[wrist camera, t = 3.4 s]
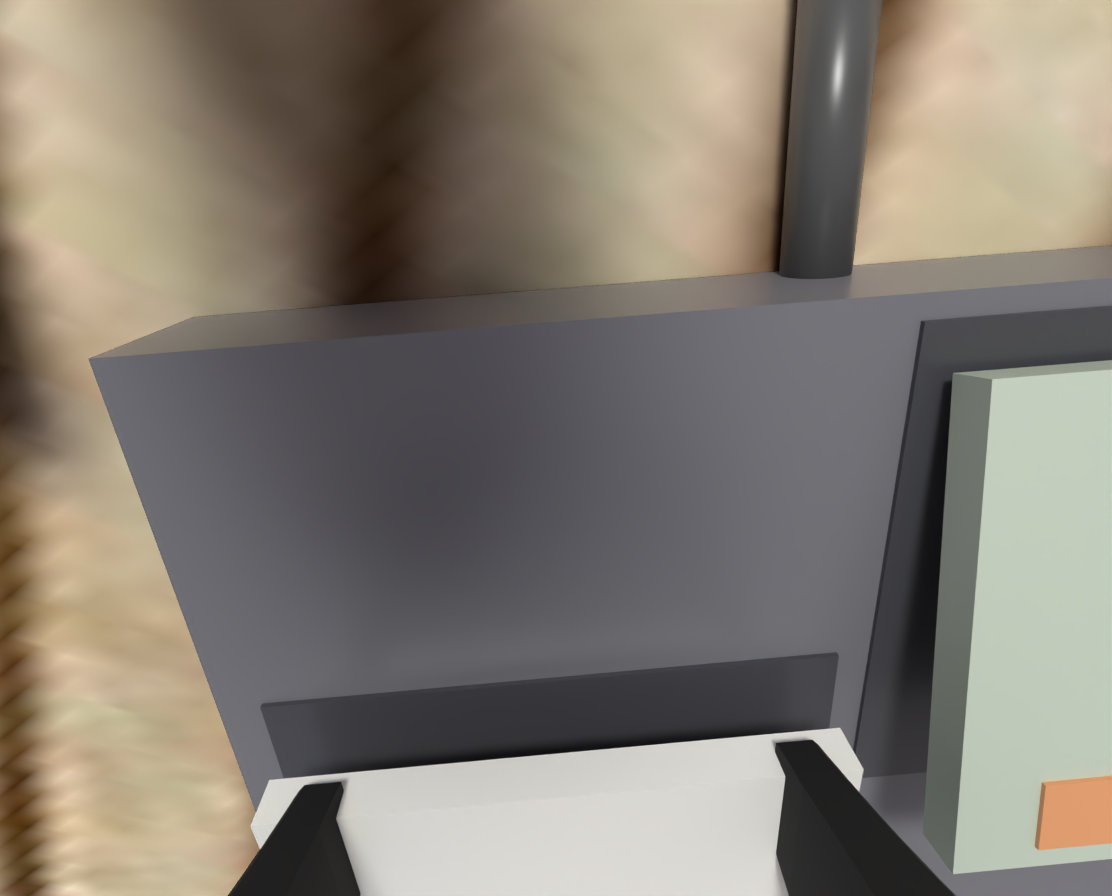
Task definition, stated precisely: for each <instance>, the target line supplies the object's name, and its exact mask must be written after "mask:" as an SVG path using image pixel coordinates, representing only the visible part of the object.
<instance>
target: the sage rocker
mask: <svg viewBox="0 0 1112 896" xmlns="http://www.w3.org/2000/svg"><path fill="white" fill-rule="evenodd" d="M923 834H924V836H925V837H926V839H927V840H928V841H929V843H930V844H931V845H932V847H933V848H934V849H935V851H936V852H937V853H938V855H939V856H940V857H941V859H942V860H943V862H944V863H945V864H946V866H947V867H948V868H949V870H950V871H951V872H952V874H960V873H971V872H981V871H992V870H1002V869H1012V868H1023V867H1033V866H1044V865H1054V864H1064V863H1075V862H1085V861H1096V860H1106V859H1112V360H1107V361H1095V362H1082V363H1070V364H1058V365H1046V366H1033V367H1021V368H1009V369H996V370H984V371H972V372H960V373H953V379H952V394H951V409H950V425H949V440H948V455H947V471H946V486H945V501H944V516H943V532H942V547H941V562H940V577H939V593H938V608H937V623H936V638H935V654H934V669H933V684H932V700H931V715H930V730H929V745H928V761H927V776H926V791H925V806H924V822H923Z"/></svg>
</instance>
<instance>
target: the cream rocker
mask: <svg viewBox="0 0 1112 896" xmlns="http://www.w3.org/2000/svg"><path fill="white" fill-rule="evenodd" d="M802 740H813V741H815V742H816V743H817V744H818V745H819V746H820V747H821V748H822V750H823V751H824V752H825V753H826V754H827V755H828V757H829V758H830V759H831V760H832V761H833V762H834V764H835V765H836V766H837V767H838V768H839V769H840V771H841V772H842V773H843V774H844V775H845V776H846V778H847V779H848V780H849V781H850V782H851V783H852V784H853V786H854V787H855V788H856V789H857V790H858V791H859V790H860V785H861V780H862V775H863V770H864V769H863V767H862V766H861V764H860V762H859V760H858V758H857V757H856V755H855V753H854V751H853V750H852V748H851V746H850V744H849V743H848V741H847V739H846V737H845V735H844V734H843V732H842V730H841V728H831V729H820V730H809V731H798V732H787V733H776V734H765V735H755V736H744V737H733V738H722V739H711V740H700V741H689V742H678V743H667V744H656V745H645V746H634V747H624V748H613V749H602V750H591V751H580V752H569V753H558V754H547V755H536V756H525V757H514V758H503V759H493V760H482V761H471V762H460V763H449V764H438V765H427V766H416V767H405V768H394V769H383V770H372V771H362V772H351V773H340V774H329V775H318V776H307V777H296V778H285V779H274V780H269V782H268V785H267V787H266V789H265V792H264V794H263V797H262V799H261V802H260V804H259V807H258V809H257V812H256V814H255V816H254V819H253V821H252V824H251V829H252V831H253V834H254V836H255V839H256V841H257V843H258V846H259V848H260V849H261V847H262V846H263V844H264V843H265V841H266V840H267V838H268V837H269V835H270V834H271V832H272V831H273V829H274V828H275V826H276V825H277V823H278V822H279V820H280V819H281V817H282V816H283V814H284V813H285V811H286V810H287V808H288V807H289V805H290V804H291V802H292V801H293V799H294V798H295V796H296V795H297V793H298V791H299V790H300V789H301V788H302V787H303V786H304V785H310V784H321V783H333V782H341V783H342V786H343V789H344V792H343V796H342V799H341V803H340V806H339V810H338V813H337V817H336V820H337V823H338V826H339V829H340V832H341V835H342V838H343V841H344V844H345V847H346V850H347V853H348V856H349V860H350V863H351V866H352V869H353V872H354V875H355V878H356V881H357V884H358V887H359V890H360V896H789V895H788V891H787V888H786V885H785V882H784V879H783V875H782V872H781V869H780V866H779V862H778V859H777V855H776V849H777V841H778V833H779V825H780V817H781V809H782V801H783V793H784V785H785V774H784V772H783V770H782V767H781V765H780V763H779V760H778V758H777V756H776V753H775V748H776V743H780V742H791V741H802Z"/></svg>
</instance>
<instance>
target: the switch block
mask: <svg viewBox="0 0 1112 896" xmlns="http://www.w3.org/2000/svg"><path fill="white" fill-rule="evenodd" d="M882 1H883V0H798V4H797V18H796V33H795V48H794V62H793V77H792V92H791V106H790V121H789V136H788V151H787V165H786V180H785V195H784V209H783V224H782V239H781V253H780V268H779V271H776V272H763V273H751V274H738V275H725V276H712V277H699V278H687V279H674V280H661V281H648V282H635V283H623V284H610V285H597V286H584V287H571V288H558V289H546V290H533V291H520V292H507V293H494V294H482V295H469V296H456V297H443V298H430V299H418V300H405V301H392V302H379V303H366V304H354V305H341V306H328V307H315V308H302V309H290V310H277V311H264V312H251V313H238V314H225V315H213V316H200V317H192V318H190V319H187V320H185V321H182V322H180V323H177V324H175V325H172V326H170V327H167V328H165V329H162V330H160V331H157V332H154V333H152V334H149V335H147V336H144V337H142V338H139V339H137V340H134V341H132V342H129V343H127V344H124V345H122V346H119V347H117V348H114V349H112V350H109V351H107V352H104V353H102V354H99V355H97V356H94V357H92V358H89V361H90V364H91V367H92V370H93V372H94V375H95V378H96V380H97V383H98V386H99V388H100V391H101V394H102V397H103V399H104V402H105V405H106V407H107V410H108V413H109V416H110V418H111V421H112V424H113V426H114V429H115V432H116V435H117V437H118V440H119V443H120V445H121V448H122V451H123V453H124V456H125V459H126V462H127V464H128V467H129V470H130V472H131V475H132V478H133V481H134V483H135V486H136V489H137V491H138V494H139V497H140V499H141V502H142V505H143V508H144V510H145V513H146V516H147V518H148V521H149V524H150V527H151V529H152V532H153V535H154V537H155V540H156V543H157V546H158V548H159V551H160V554H161V556H162V559H163V562H164V564H165V567H166V570H167V573H168V575H169V578H170V581H171V583H172V586H173V589H174V592H175V594H176V597H177V600H178V602H179V605H180V608H181V610H182V613H183V616H184V619H185V621H186V624H187V627H188V629H189V632H190V635H191V638H192V640H193V643H194V646H195V648H196V651H197V654H198V657H199V659H200V662H201V665H202V667H203V670H204V673H205V675H206V678H207V681H208V684H209V686H210V689H211V692H212V694H213V697H214V700H215V703H216V705H217V708H218V711H219V713H220V716H221V719H222V721H223V724H224V727H225V730H226V732H227V735H228V738H229V740H230V743H231V746H232V749H233V751H234V754H235V757H236V759H237V762H238V765H239V768H240V770H241V773H242V776H243V778H244V781H245V784H246V786H247V789H248V792H249V795H250V797H251V800H252V803H253V805H254V808H255V811H256V812H257V809H258V807H259V804H260V802H261V799H262V797H263V794H264V792H265V789H266V787H267V785H268V782H269V780H274V779H285V778H296V777H307V776H318V775H329V774H340V773H351V772H362V771H372V770H383V769H394V768H405V767H416V766H427V765H438V764H449V763H460V762H471V761H482V760H493V759H503V758H514V757H525V756H536V755H547V754H558V753H569V752H580V751H591V750H602V749H613V748H624V747H634V746H645V745H656V744H667V743H678V742H689V741H700V740H711V739H722V738H733V737H744V736H755V735H765V734H776V733H787V732H798V731H809V730H820V729H831V728H841V730H842V732H843V734H844V735H845V737H846V739H847V741H848V743H849V744H850V746H851V748H852V750H853V751H854V753H855V755H856V757H857V758H858V760H859V762H860V764H861V766H862V767H863V769H864V770H863V775H862V780H861V785H860V790H859V792H860V794H861V795H862V796H863V797H864V798H865V799H866V800H867V801H868V803H869V804H870V805H871V806H872V807H873V808H874V809H875V810H876V812H877V813H878V814H879V815H880V816H881V817H882V818H883V819H884V820H885V822H886V823H887V824H888V825H889V826H890V827H891V828H892V829H893V830H894V831H895V832H896V834H897V835H898V836H899V837H900V838H901V839H902V840H903V841H904V842H905V843H906V844H907V845H908V846H909V847H910V848H911V849H912V851H913V852H914V853H915V854H916V855H917V856H918V857H919V858H920V859H921V860H922V861H923V862H924V863H925V864H926V865H927V866H928V867H929V868H930V869H931V870H932V872H933V873H934V874H935V875H936V876H937V877H938V878H939V879H940V880H941V881H942V882H943V883H944V884H945V885H946V886H947V887H948V888H949V889H950V890H951V891H952V892H953V893H954V894H955V895H956V896H1112V859H1106V860H1096V861H1085V862H1075V863H1064V864H1054V865H1044V866H1033V867H1023V868H1012V869H1002V870H992V871H981V872H971V873H960V874H952V872H951V871H950V870H949V868H948V867H947V866H946V864H945V863H944V862H943V860H942V859H941V857H940V856H939V855H938V853H937V852H936V851H935V849H934V848H933V847H932V845H931V844H930V843H929V841H928V840H927V839H926V837H925V836H924V834H923V822H924V806H925V791H926V776H927V761H928V745H929V730H930V715H931V700H932V684H933V669H934V654H935V638H936V623H937V608H938V593H939V577H940V562H941V547H942V532H943V516H944V501H945V486H946V471H947V455H948V440H949V425H950V409H951V394H952V379H953V373H960V372H972V371H984V370H996V369H1009V368H1021V367H1033V366H1046V365H1058V364H1070V363H1082V362H1095V361H1107V360H1112V245H1109V246H1096V247H1084V248H1071V249H1058V250H1045V251H1032V252H1020V253H1007V254H994V255H981V256H968V257H956V258H943V259H930V260H917V261H904V262H891V263H879V264H866V265H853V260H854V251H855V242H856V233H857V224H858V215H859V206H860V197H861V188H862V179H863V171H864V162H865V153H866V144H867V135H868V126H869V117H870V108H871V99H872V90H873V81H874V73H875V64H876V55H877V46H878V37H879V28H880V19H881V10H882Z"/></svg>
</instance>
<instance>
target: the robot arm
mask: <svg viewBox="0 0 1112 896" xmlns="http://www.w3.org/2000/svg"><path fill="white" fill-rule="evenodd" d="M775 753H776V756H777V758H778V760H779V763H780V765H781V767H782V770H783V772H784V774H785V785H784V793H783V801H782V809H781V817H780V825H779V833H778V841H777V849H776V855H777V859H778V862H779V866H780V869H781V872H782V875H783V879H784V882H785V885H786V888H787V891H788V895H789V896H956V895H955V894H954V893H953V892H952V891H951V890H950V889H949V888H948V887H947V886H946V885H945V884H944V883H943V882H942V881H941V880H940V879H939V878H938V877H937V876H936V875H935V874H934V873H933V872H932V870H931V869H930V868H929V867H928V866H927V865H926V864H925V863H924V862H923V861H922V860H921V859H920V858H919V857H918V856H917V855H916V854H915V853H914V852H913V851H912V849H911V848H910V847H909V846H908V845H907V844H906V843H905V842H904V841H903V840H902V839H901V838H900V837H899V836H898V835H897V834H896V832H895V831H894V830H893V829H892V828H891V827H890V826H889V825H888V824H887V823H886V822H885V820H884V819H883V818H882V817H881V816H880V815H879V814H878V813H877V812H876V810H875V809H874V808H873V807H872V806H871V805H870V804H869V803H868V801H867V800H866V799H865V798H864V797H863V796H862V795H861V794H860V792H859V791H858V790H857V789H856V788H855V787H854V786H853V784H852V783H851V782H850V781H849V780H848V779H847V778H846V776H845V775H844V774H843V773H842V772H841V771H840V769H839V768H838V767H837V766H836V765H835V764H834V762H833V761H832V760H831V759H830V758H829V757H828V755H827V754H826V753H825V752H824V751H823V750H822V748H821V747H820V746H819V745H818V744H817V743H816V742H815V741H813V740H802V741H791V742H780V743H776V748H775ZM343 792H344V789H343V786H342V783H341V782H333V783H321V784H310V785H304V786H303V787H302V788H301V789H300V790H299V791H298V793H297V795H296V796H295V798H294V799H293V801H292V802H291V804H290V805H289V807H288V808H287V810H286V811H285V813H284V814H283V816H282V817H281V819H280V820H279V822H278V823H277V825H276V826H275V828H274V829H273V831H272V832H271V834H270V835H269V837H268V838H267V840H266V841H265V843H264V844H263V846H262V847H261V849H260V850H259V852H258V853H257V855H256V856H255V858H254V859H253V860H252V862H251V863H250V865H249V866H248V868H247V869H246V871H245V872H244V874H243V875H242V877H241V878H240V879H239V881H238V882H237V884H236V885H235V886H234V888H233V889H232V891H231V892H230V893H229V895H228V896H360V890H359V887H358V884H357V881H356V878H355V875H354V872H353V869H352V866H351V863H350V860H349V856H348V853H347V850H346V847H345V844H344V841H343V838H342V835H341V832H340V829H339V826H338V823H337V820H336V817H337V813H338V810H339V806H340V803H341V799H342V796H343Z"/></svg>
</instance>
